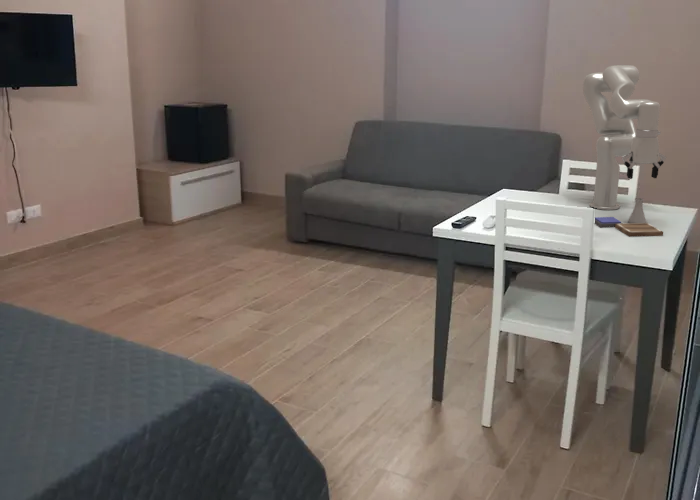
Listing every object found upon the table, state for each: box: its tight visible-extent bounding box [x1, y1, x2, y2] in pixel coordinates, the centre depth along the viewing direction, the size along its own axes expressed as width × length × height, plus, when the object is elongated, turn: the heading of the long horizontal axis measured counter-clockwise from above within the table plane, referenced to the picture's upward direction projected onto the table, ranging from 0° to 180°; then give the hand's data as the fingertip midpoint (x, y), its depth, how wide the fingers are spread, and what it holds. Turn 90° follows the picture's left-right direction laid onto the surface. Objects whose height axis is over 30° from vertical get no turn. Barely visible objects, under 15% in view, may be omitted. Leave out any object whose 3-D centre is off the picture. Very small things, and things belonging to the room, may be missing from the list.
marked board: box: [614, 222, 664, 238], centre depth 274 cm, size 13×13×2 cm
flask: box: [627, 197, 647, 223], centre depth 285 cm, size 7×7×10 cm
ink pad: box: [594, 216, 623, 229], centre depth 284 cm, size 9×9×2 cm
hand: (641, 177), depth 281 cm, fingers open, 9 cm apart
